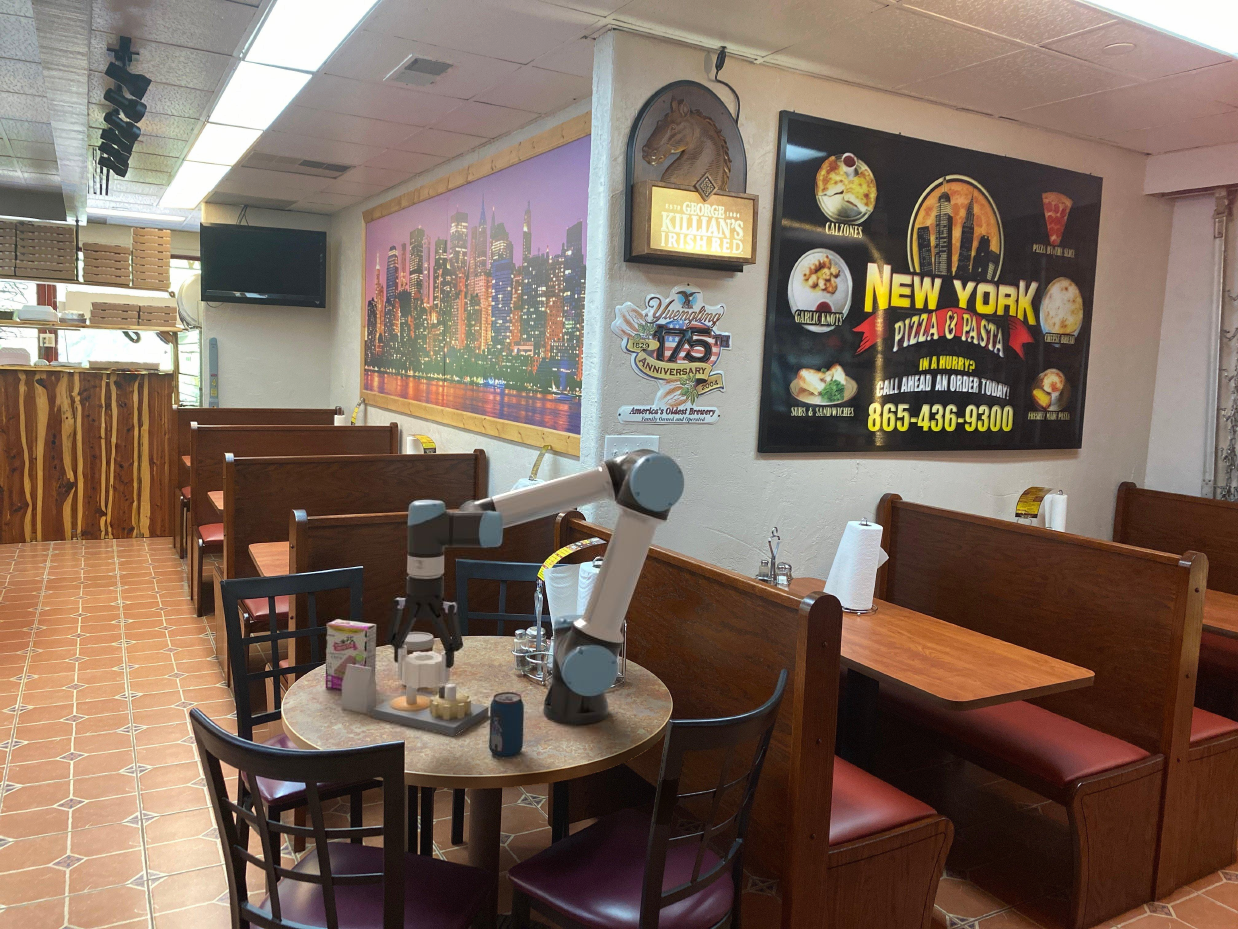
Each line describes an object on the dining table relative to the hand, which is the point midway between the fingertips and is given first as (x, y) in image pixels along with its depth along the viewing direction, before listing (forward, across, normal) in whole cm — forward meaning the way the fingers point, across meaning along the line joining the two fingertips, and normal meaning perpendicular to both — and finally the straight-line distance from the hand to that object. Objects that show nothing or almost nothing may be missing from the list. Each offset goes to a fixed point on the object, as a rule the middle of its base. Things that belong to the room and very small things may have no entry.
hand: (423, 679), depth 186 cm
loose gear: (0, 0, 0) cm, 0 cm away
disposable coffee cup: (+14, -16, +32) cm, 39 cm away
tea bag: (+14, -21, +13) cm, 28 cm away
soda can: (+14, +19, -1) cm, 23 cm away
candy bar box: (+13, -29, +24) cm, 40 cm away
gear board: (+13, -4, +13) cm, 19 cm away
